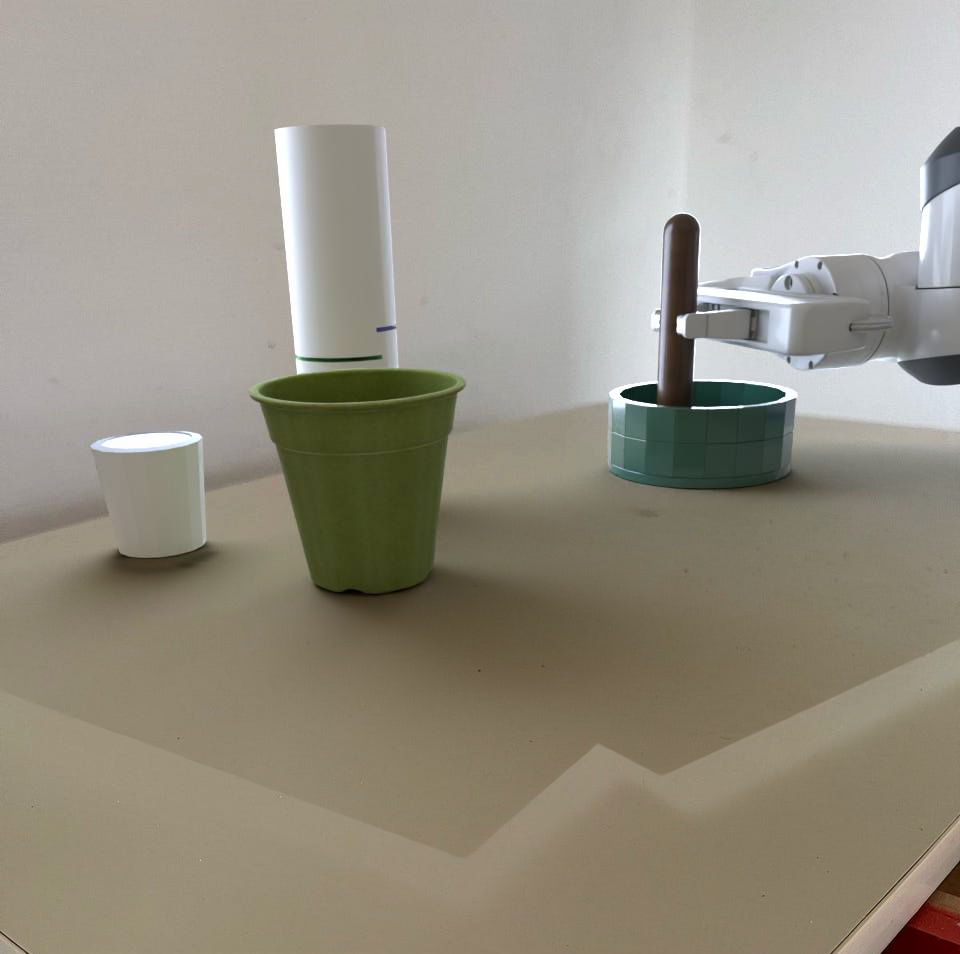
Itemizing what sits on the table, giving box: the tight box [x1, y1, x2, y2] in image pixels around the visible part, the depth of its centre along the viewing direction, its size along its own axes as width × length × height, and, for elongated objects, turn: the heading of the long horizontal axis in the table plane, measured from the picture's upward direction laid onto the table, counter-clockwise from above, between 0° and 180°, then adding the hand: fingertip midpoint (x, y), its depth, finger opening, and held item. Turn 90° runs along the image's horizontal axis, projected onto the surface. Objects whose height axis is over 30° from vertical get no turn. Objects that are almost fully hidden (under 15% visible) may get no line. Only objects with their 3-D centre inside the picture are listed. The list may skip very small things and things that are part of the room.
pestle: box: [656, 212, 702, 407], centre depth 80 cm, size 5×5×17 cm
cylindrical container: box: [274, 123, 400, 374], centre depth 71 cm, size 7×7×25 cm
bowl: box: [606, 379, 798, 490], centre depth 83 cm, size 15×15×6 cm
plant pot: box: [248, 367, 467, 595], centre depth 58 cm, size 12×12×11 cm
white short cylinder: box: [90, 430, 207, 559], centre depth 67 cm, size 7×7×7 cm
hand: (667, 323), depth 79 cm, fingers closed on pestle, 3 cm apart
